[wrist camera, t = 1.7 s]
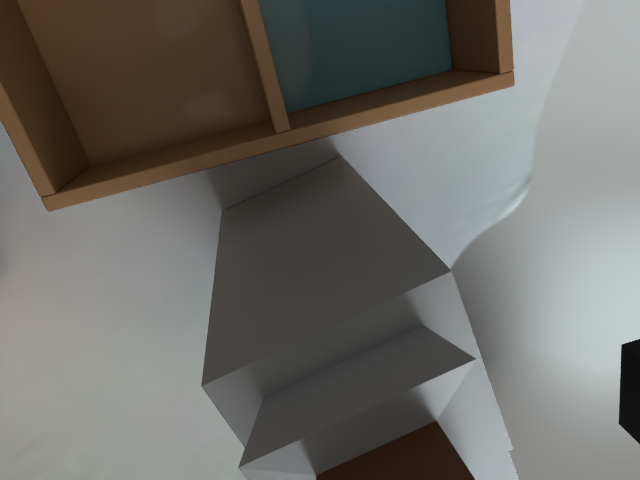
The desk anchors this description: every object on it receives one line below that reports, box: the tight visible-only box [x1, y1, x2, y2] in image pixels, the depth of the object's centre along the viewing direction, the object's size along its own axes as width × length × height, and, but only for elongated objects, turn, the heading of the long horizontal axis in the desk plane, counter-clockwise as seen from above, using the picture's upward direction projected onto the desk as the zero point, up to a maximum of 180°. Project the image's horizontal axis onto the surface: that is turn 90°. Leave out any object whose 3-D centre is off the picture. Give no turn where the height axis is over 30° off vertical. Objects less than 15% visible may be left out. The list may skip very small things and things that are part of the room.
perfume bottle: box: [201, 156, 519, 480], centre depth 17 cm, size 7×7×18 cm
